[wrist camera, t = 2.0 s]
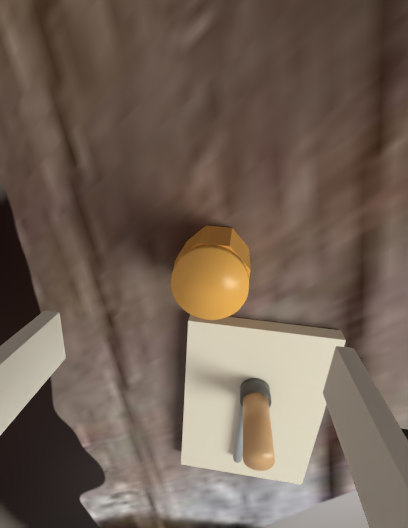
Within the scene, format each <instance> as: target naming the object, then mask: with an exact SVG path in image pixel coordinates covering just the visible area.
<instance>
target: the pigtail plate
mask: <svg viewBox="0 0 408 528" xmlns="http://www.w3.org/2000/svg"><path fill="white" fill-rule="evenodd" d="M345 341H346V340H345V338H344V336H343V334H342V332H341V330H334V329H326V328H318V327H310V326H301V325H293V324H285V323H276V322H268V321H260V320H252V319H243V318H235V317H226V318H223V319H218V320H206V319H201V318H198V317H195V316H193V315H191V314H190V316H189V320H188V334H187V354H186V374H185V394H184V414H183V434H182V455H181V464H182V465H188V466H194V467H200V468H206V469H212V470H218V471H224V472H230V473H235V474H241V475H247V476H253V477H259V478H265V479H271V480H277V481H283V482H289V483H295V484H300V485H302V483H303V479H304V476H305V473H306V470H307V466H308V463H309V460H310V456H311V453H312V450H313V447H314V443H315V440H316V437H317V433H318V430H319V427H320V423H321V420H322V417H323V414H324V410H325V407H326V401H325V398H324V395H323V390H324V386H325V383H326V379H327V376H328V372H329V369H330V365H331V362H332V358H333V355H334V351H335V348H336V346H340V347H344V345H345Z"/></svg>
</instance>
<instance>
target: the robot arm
mask: <svg viewBox="0 0 408 528" xmlns="http://www.w3.org/2000/svg"><path fill="white" fill-rule="evenodd" d="M65 358H66V356H65V349H64V342H63V335H62V328H61V320H60V313H59V312H52V311H43V312H42V313H41V314H40V315H39V316H37V317H36V318H35V319H33V320H32V321H31V322H30V323H29V324H27V325H26V326H25V327H24V328H22V329H21V330H20V331H19V332H17V333H16V334H15V335H14V336H12V337H11V338H10V339H9V340H8V341H6V342H5V343H4V344H3V345H1V346H0V435H1V434H2V433H3V431H4V430H5V429H6V428H7V427H8V425H9V424H10V423H11V422H12V421H13V420H14V418H15V417H16V416H17V415H18V414H19V412H20V411H21V410H22V409H23V408H24V406H25V405H26V404H27V403H28V402H29V401H30V399H31V398H32V397H33V396H34V395H35V394H36V392H37V391H38V390H39V389H40V388H41V386H42V385H43V384H44V383H45V382H46V380H47V379H48V378H49V377H50V376H51V375H52V374H53V372H54V371H55V370H56V369H57V368H58V366H59V365H60V364H61V363H62V362H63V361H64V359H65ZM323 395H324V398H325V401H326V404H327V406H328V409H329V412H330V415H331V418H332V421H333V424H334V427H335V429H336V432H337V435H338V438H339V441H340V444H341V447H342V449H343V452H344V455H345V458H346V461H347V464H348V467H349V470H350V472H351V475H352V478H353V481H354V484H355V487H356V490H357V492H358V495H359V498H360V501H361V504H362V507H363V510H364V512H365V515H366V518H367V521H368V524H369V527H370V528H408V430H407V429H401V428H400V426H399V425H398V423H397V421H396V420H395V418H394V416H393V414H392V413H391V411H390V409H389V408H388V406H387V404H386V403H385V401H384V399H383V397H382V396H381V394H380V392H379V391H378V389H377V387H376V386H375V384H374V382H373V380H372V379H371V377H370V375H369V374H368V372H367V370H366V369H365V367H364V365H363V363H362V362H361V360H360V358H359V357H358V355H357V353H356V352H355V350H354V348H348V347H340V346H336V348H335V351H334V355H333V358H332V362H331V365H330V369H329V372H328V376H327V379H326V383H325V386H324V390H323Z"/></svg>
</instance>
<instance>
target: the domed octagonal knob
mask: <svg viewBox="0 0 408 528" xmlns="http://www.w3.org/2000/svg"><path fill="white" fill-rule="evenodd" d="M249 275H250V259H249V247H248V246H247V245H246V244H245V242H244V241H243V240H242V239H241V238H240V237H239V235H238V234H237V233H236V232H235V231H234V229H233V228H230V227H219V226H208V225H206V226H204V227H203V228H202V229H201V230H200V231H198V232H197V233H196V234H195V235H194V236H192V237H191V238H190V239H189V240H188V241H187V242H186V243H185V245H184V247H183V248H182V250H181V251H180V253H179V255H178V256H177V258H176V260H175V261H174V270H173V272H172V276H171V289H172V293H173V296H174V298H175V300H176V301H177V303H178V304H179V305H180V306H181V307H182V308H183V309H184V310H185V311H186V312H188V313H189V314H191V315H193V316H195V317H198V318H201V319H206V320H218V319H223V318H226V317H228V316H230V315H232V314H234V313H235V312H237V311H238V310H239V309H240V308H241V307H242V305H243V304H244V302H245V301H246V298H247V296H248V291H249Z"/></svg>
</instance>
